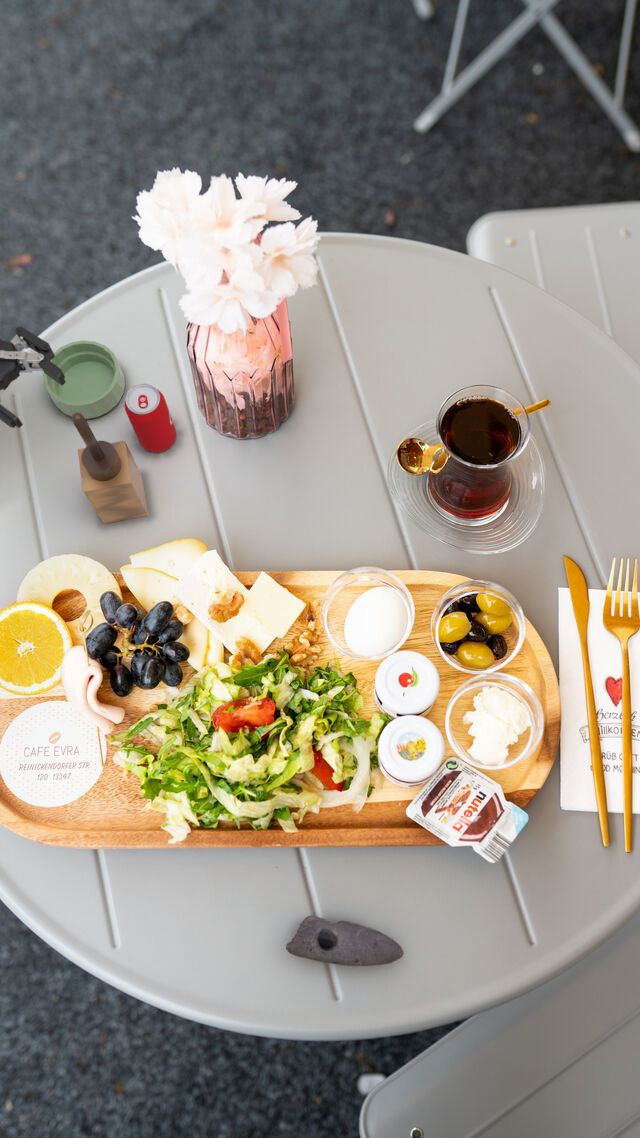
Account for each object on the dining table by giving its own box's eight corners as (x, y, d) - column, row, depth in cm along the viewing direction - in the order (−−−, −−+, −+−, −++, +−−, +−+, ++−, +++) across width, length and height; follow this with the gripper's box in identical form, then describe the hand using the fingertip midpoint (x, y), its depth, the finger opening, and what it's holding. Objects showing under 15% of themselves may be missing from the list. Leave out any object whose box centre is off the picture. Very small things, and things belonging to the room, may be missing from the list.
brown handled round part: (89, 484, 118) (58, 435, 105) (85, 454, 120) (55, 402, 107) (123, 477, 119) (97, 428, 105) (119, 447, 120) (93, 395, 107)
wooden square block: (104, 524, 129) (82, 491, 118) (98, 484, 132) (77, 449, 120) (148, 515, 130) (131, 482, 118) (142, 476, 132) (125, 440, 121)
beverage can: (175, 418, 136) (161, 377, 124) (179, 451, 133) (165, 412, 122) (137, 424, 135) (120, 383, 124) (140, 457, 133) (123, 419, 122)
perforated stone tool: (404, 931, 109) (409, 935, 102) (398, 974, 107) (403, 981, 101) (293, 909, 110) (291, 911, 103) (286, 951, 108) (283, 957, 102)
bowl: (56, 427, 135) (47, 411, 130) (49, 365, 139) (39, 347, 134) (130, 413, 136) (123, 397, 131) (121, 352, 140) (113, 334, 135)
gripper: (5, 324, 122) (84, 382, 119) (-66, 390, 118) (14, 451, 115) (-15, 291, 115) (69, 351, 112) (-91, 359, 111) (-7, 424, 108)
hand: (41, 402), depth 113 cm, fingers open, 8 cm apart
